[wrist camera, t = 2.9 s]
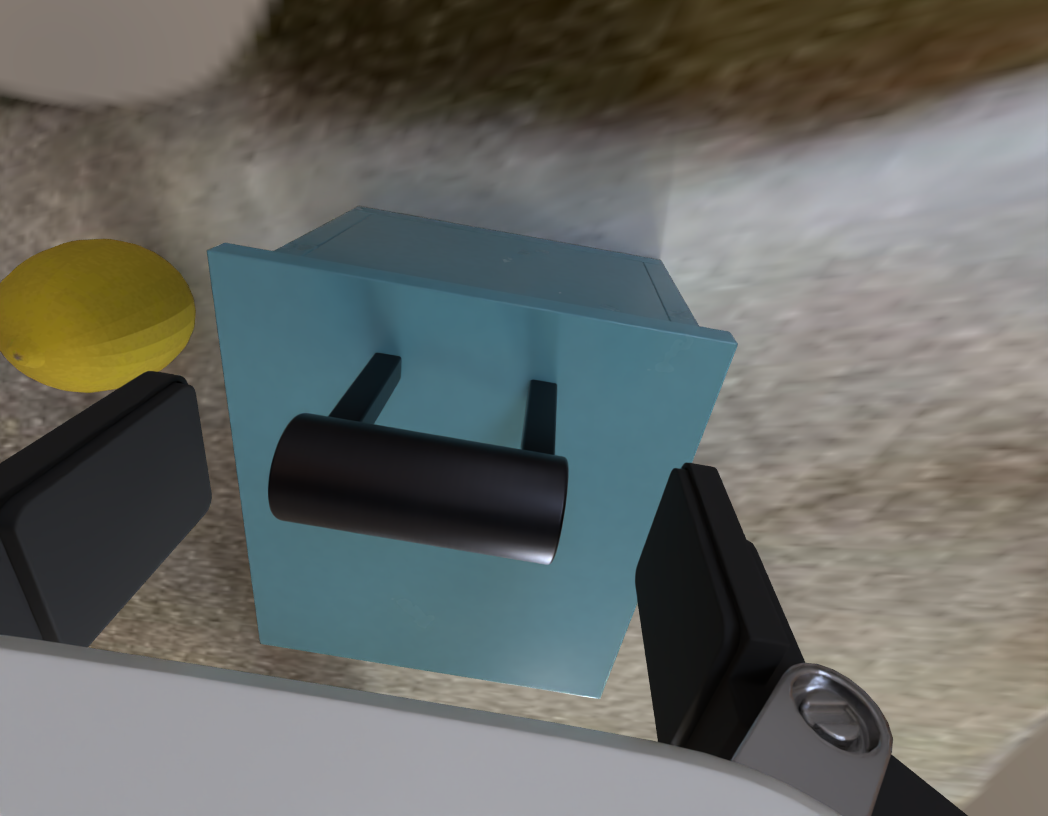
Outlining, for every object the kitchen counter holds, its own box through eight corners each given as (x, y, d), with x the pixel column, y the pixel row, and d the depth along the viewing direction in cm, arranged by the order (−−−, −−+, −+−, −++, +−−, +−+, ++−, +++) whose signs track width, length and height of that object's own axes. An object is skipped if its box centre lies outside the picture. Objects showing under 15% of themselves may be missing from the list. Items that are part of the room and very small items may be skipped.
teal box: (357, 205, 22) (229, 272, 14) (661, 259, 23) (719, 358, 14) (356, 470, 29) (270, 624, 21) (589, 509, 30) (599, 678, 21)
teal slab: (224, 241, 13) (-11, 341, 8) (730, 331, 14) (838, 486, 8) (269, 625, 21) (164, 814, 15) (599, 679, 21) (610, 884, 16)
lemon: (153, 350, 27) (7, 440, 20) (82, 237, 24) (-116, 295, 17) (252, 327, 26) (136, 412, 19) (189, 206, 23) (26, 254, 16)
